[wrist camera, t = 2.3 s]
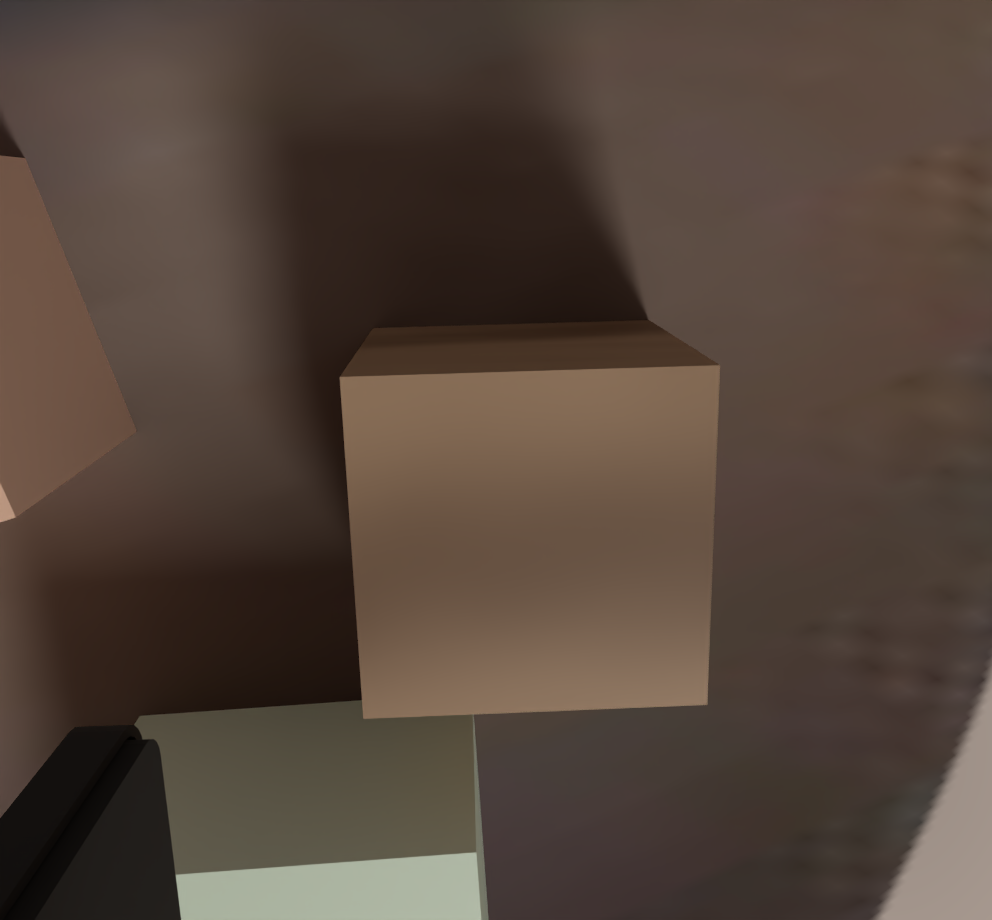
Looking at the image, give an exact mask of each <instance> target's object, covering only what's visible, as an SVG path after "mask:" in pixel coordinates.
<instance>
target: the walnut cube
mask: <svg viewBox="0 0 992 920" xmlns="http://www.w3.org/2000/svg"><path fill="white" fill-rule="evenodd" d="M719 380H720V365H719V364H717V363H716V362H714V361H713V360H711V359H709V358H708V357H706V356H705V355H703V354H702V353H700V352H698V351H697V350H695V349H694V348H692V347H690V346H689V345H687V344H686V343H684V342H683V341H681V340H679V339H678V338H676V337H675V336H673V335H671V334H670V333H668V332H667V331H665V330H664V329H662V328H660V327H659V326H657V325H656V324H654V323H653V322H651V321H649V320H629V321H595V322H561V323H527V324H493V325H459V326H425V327H391V328H373V329H372V330H371V332H370V333H369V335H368V336H367V338H366V339H365V341H364V342H363V344H362V345H361V346H360V348H359V349H358V351H357V352H356V354H355V355H354V357H353V358H352V360H351V361H350V363H349V364H348V365H347V367H346V368H345V370H344V371H343V373H342V374H341V376H340V389H341V404H342V418H343V433H344V447H345V461H346V476H347V490H348V505H349V519H350V534H351V548H352V563H353V577H354V592H355V606H356V620H357V635H358V649H359V664H360V678H361V693H362V707H363V719H373V718H398V717H422V716H446V715H470V714H495V713H519V712H543V711H568V710H592V709H616V708H640V707H665V706H689V705H707V695H708V668H709V642H710V616H711V590H712V563H713V537H714V511H715V485H716V458H717V432H718V406H719Z"/></svg>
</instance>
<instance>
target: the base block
mask: <svg viewBox="0 0 992 920" xmlns="http://www.w3.org/2000/svg"><path fill="white" fill-rule="evenodd" d="M134 725H135V726H136V727H137V728H138V729H139V731H140V733H141V735H142V739H154V740H155V741H157V743H158V745H159V748H160V753H161V761H162V769H163V777H164V785H165V793H166V801H167V809H168V817H169V825H170V833H171V841H172V850H173V858H174V866H175V874H176V882H177V890H178V898H179V906H180V914H181V920H488V908H487V894H486V880H485V866H484V852H483V838H482V824H481V810H480V796H479V782H478V768H477V754H476V741H475V727H474V714H470V715H446V716H422V717H398V718H373V719H363V707H362V700H359V701H345V702H331V703H317V704H302V705H288V706H274V707H260V708H245V709H231V710H217V711H203V712H189V713H174V714H160V715H146V716H139V718H138V720H137V721H136V723H135V724H134Z"/></svg>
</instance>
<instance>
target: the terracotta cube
mask: <svg viewBox="0 0 992 920" xmlns="http://www.w3.org/2000/svg"><path fill="white" fill-rule="evenodd" d="M135 432H137V430H136V428H135V426H134V423H133V421H132V418H131V416H130V413H129V411H128V408H127V406H126V404H125V401H124V399H123V396H122V394H121V391H120V389H119V386H118V384H117V382H116V379H115V377H114V374H113V372H112V369H111V367H110V364H109V362H108V360H107V357H106V355H105V352H104V350H103V347H102V345H101V342H100V340H99V338H98V335H97V333H96V330H95V328H94V325H93V323H92V320H91V318H90V316H89V313H88V311H87V308H86V306H85V303H84V301H83V298H82V296H81V294H80V291H79V289H78V286H77V284H76V281H75V279H74V276H73V274H72V272H71V269H70V267H69V264H68V262H67V259H66V257H65V254H64V252H63V250H62V247H61V245H60V242H59V240H58V237H57V235H56V232H55V230H54V228H53V225H52V223H51V220H50V218H49V215H48V213H47V210H46V208H45V206H44V203H43V201H42V198H41V196H40V193H39V191H38V188H37V186H36V184H35V181H34V179H33V176H32V174H31V171H30V169H29V166H28V164H27V162H26V159H25V158H19V157H9V156H0V522H2V521H6V520H9V519H12V518H16V517H17V516H19V515H20V514H22V513H23V512H24V511H26V510H27V509H29V508H30V507H31V506H33V505H34V504H36V503H37V502H38V501H40V500H41V499H43V498H44V497H45V496H47V495H48V494H50V493H51V492H52V491H54V490H55V489H57V488H58V487H60V486H61V485H62V484H64V483H65V482H67V481H68V480H69V479H71V478H72V477H74V476H75V475H76V474H78V473H79V472H81V471H82V470H83V469H85V468H86V467H88V466H89V465H90V464H92V463H93V462H95V461H96V460H97V459H99V458H100V457H102V456H103V455H105V454H106V453H107V452H109V451H110V450H112V449H113V448H114V447H116V446H117V445H119V444H120V443H121V442H123V441H124V440H126V439H127V438H128V437H130V436H131V435H133V434H134V433H135Z"/></svg>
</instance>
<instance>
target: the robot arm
mask: <svg viewBox="0 0 992 920" xmlns="http://www.w3.org/2000/svg"><path fill="white" fill-rule="evenodd" d="M0 920H181V914H180V906H179V898H178V890H177V882H176V874H175V866H174V858H173V850H172V841H171V833H170V825H169V817H168V809H167V801H166V793H165V785H164V777H163V769H162V761H161V753H160V748H159V745H158V743H157V741H155V740H154V739H142V735H141V733H140V731H139V729H138V728H137V727H136V726H135V725H119V726H88V727H75V728H74V729H73V730H72V731H70V732H69V733H68V735H67V736H66V737H65V738H64V740H63V741H62V742H61V743H60V745H59V746H58V747H57V748H56V750H55V751H54V752H53V753H52V755H51V756H50V757H49V758H48V760H47V761H46V762H45V763H44V765H43V766H42V767H41V768H40V770H39V771H38V772H37V773H36V775H35V776H34V777H33V778H32V780H31V781H30V782H29V783H28V785H27V786H26V787H25V788H24V790H23V791H22V792H21V793H20V795H19V796H18V797H17V798H16V800H15V801H14V802H13V803H12V804H11V806H10V807H9V808H8V809H7V811H6V812H5V813H4V814H3V816H2V817H1V818H0Z"/></svg>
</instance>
